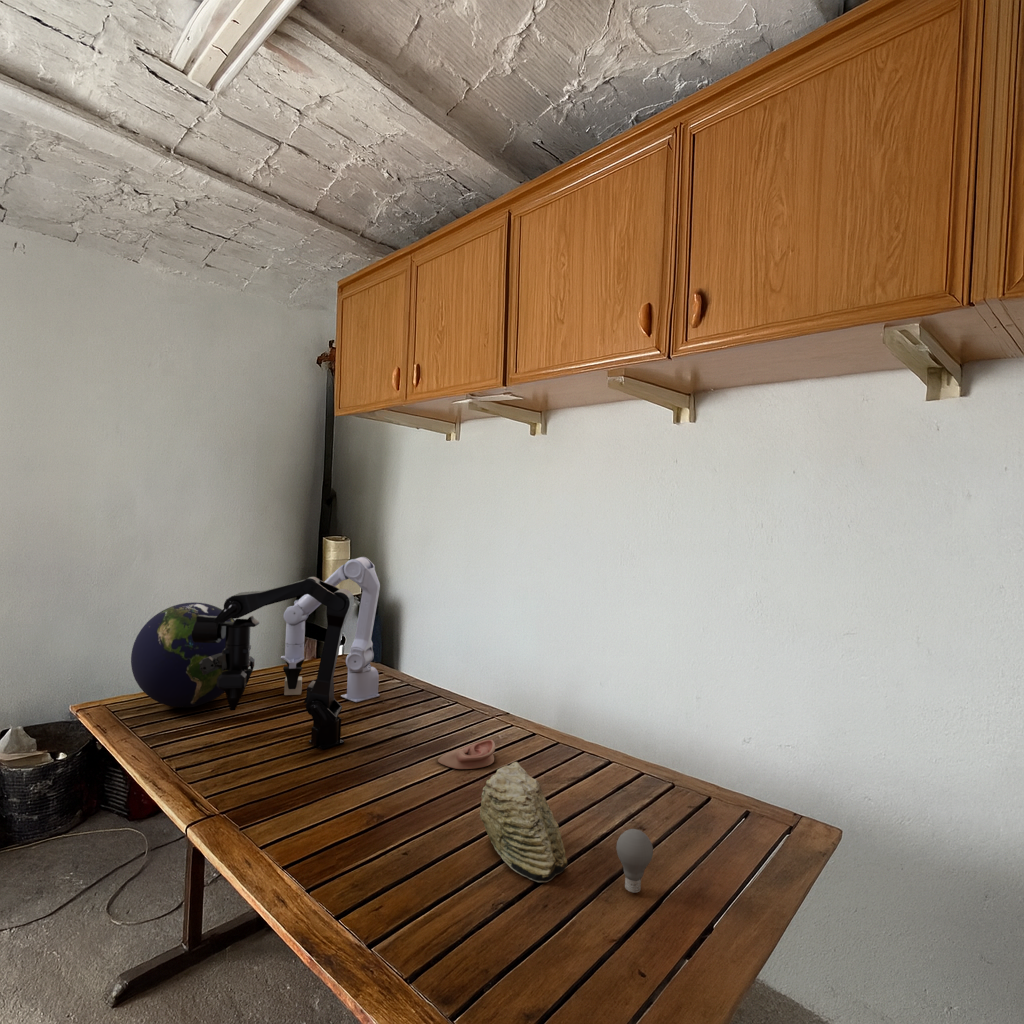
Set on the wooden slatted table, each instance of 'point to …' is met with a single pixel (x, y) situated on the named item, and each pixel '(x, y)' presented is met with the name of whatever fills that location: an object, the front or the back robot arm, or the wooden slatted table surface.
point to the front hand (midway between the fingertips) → (235, 704)
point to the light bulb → (634, 857)
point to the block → (293, 691)
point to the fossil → (522, 824)
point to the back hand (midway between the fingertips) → (293, 685)
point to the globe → (176, 657)
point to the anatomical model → (470, 756)
